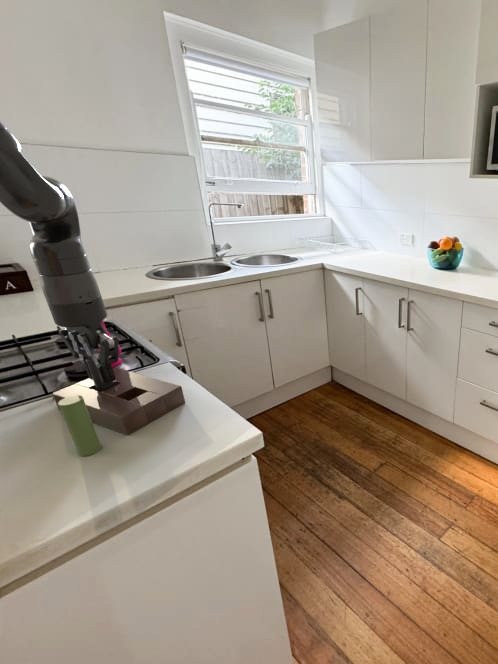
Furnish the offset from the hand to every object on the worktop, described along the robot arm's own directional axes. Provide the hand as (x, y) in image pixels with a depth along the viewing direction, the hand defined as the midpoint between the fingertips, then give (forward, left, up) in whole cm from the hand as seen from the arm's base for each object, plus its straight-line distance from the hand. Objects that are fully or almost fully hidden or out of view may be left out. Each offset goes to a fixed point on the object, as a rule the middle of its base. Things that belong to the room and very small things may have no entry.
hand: (103, 379), depth 75 cm
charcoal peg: (0, 0, -5) cm, 5 cm away
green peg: (+12, -11, -5) cm, 17 cm away
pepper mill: (-15, +9, -6) cm, 19 cm away
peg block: (+4, 0, -5) cm, 7 cm away
